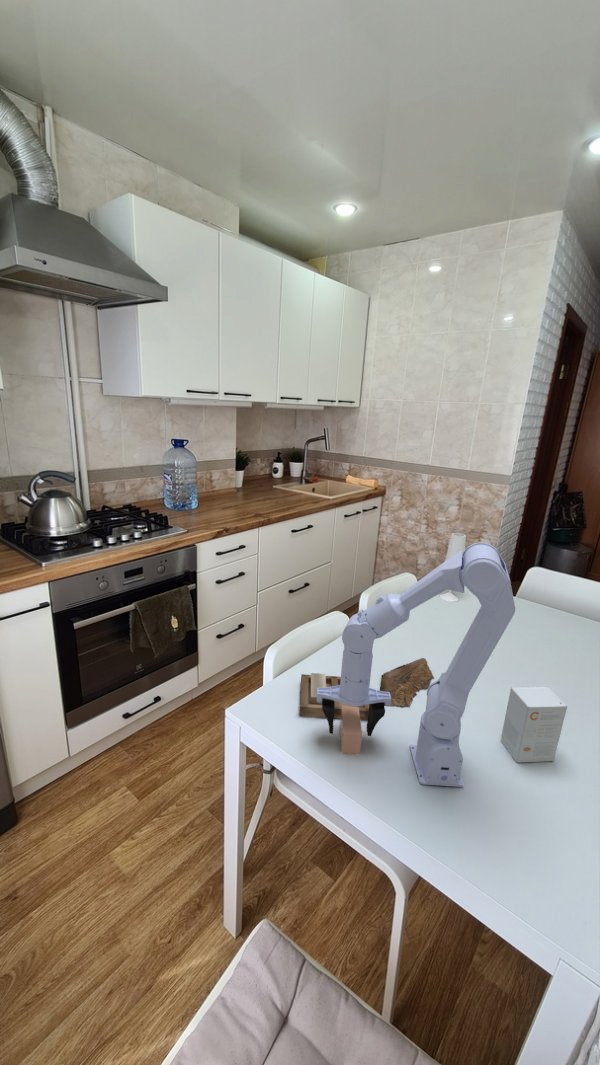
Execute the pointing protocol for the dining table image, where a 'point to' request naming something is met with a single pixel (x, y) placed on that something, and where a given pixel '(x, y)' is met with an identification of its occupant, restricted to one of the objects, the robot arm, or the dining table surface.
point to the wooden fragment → (406, 682)
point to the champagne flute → (454, 547)
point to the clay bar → (350, 730)
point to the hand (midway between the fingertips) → (349, 731)
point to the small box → (533, 724)
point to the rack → (314, 708)
